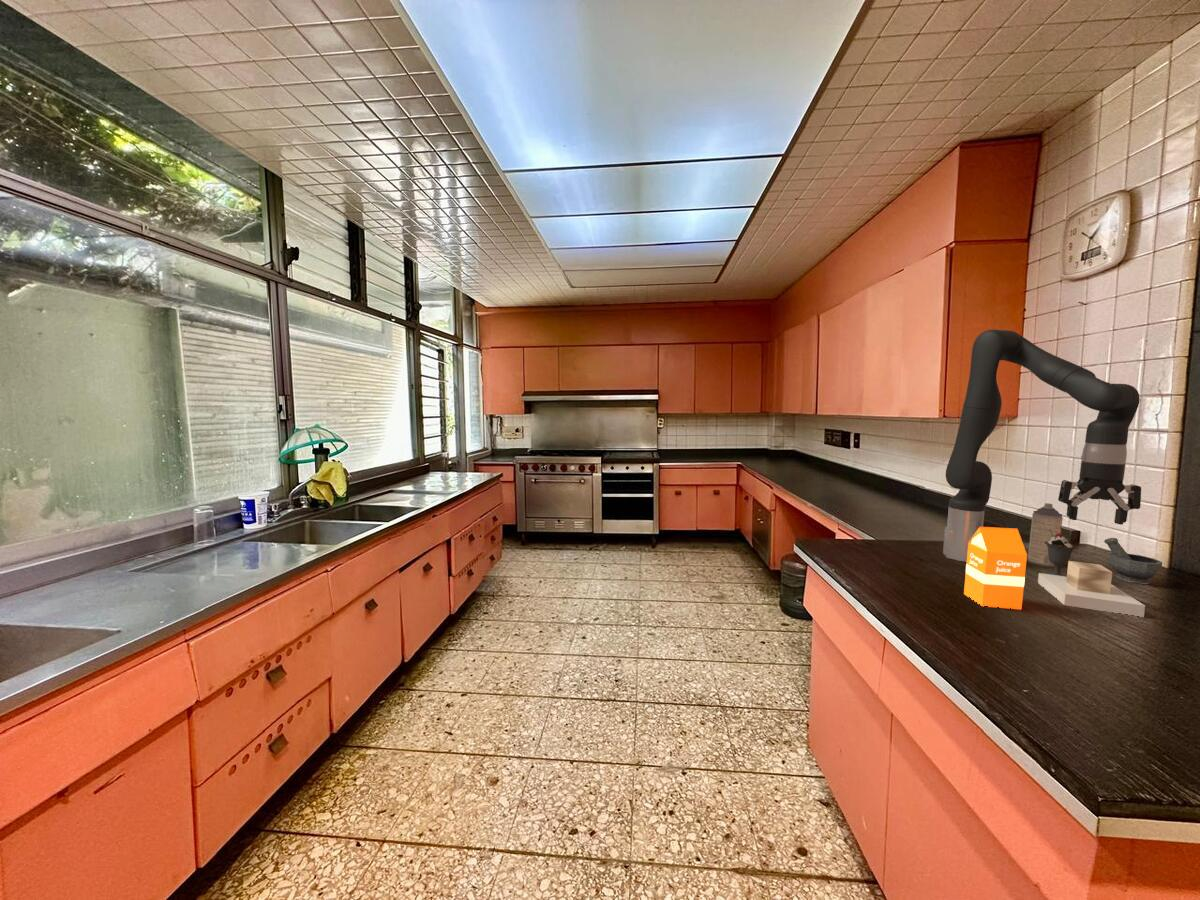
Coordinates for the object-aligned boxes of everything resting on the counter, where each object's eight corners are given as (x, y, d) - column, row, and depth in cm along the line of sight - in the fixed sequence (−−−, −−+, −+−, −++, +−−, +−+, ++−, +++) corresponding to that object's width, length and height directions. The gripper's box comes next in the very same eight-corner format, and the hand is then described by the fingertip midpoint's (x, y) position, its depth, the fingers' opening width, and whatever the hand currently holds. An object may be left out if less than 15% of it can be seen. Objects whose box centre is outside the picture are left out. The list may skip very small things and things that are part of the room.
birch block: (1077, 589, 114) (1079, 567, 113) (1066, 581, 119) (1068, 560, 118) (1109, 594, 111) (1112, 572, 110) (1097, 586, 116) (1099, 564, 115)
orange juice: (1022, 609, 109) (1030, 533, 107) (982, 606, 111) (989, 530, 109) (1000, 596, 117) (1007, 524, 115) (963, 593, 118) (969, 522, 116)
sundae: (1057, 572, 133) (1063, 525, 132) (1079, 581, 126) (1085, 532, 125) (1034, 572, 134) (1039, 525, 132) (1055, 580, 127) (1060, 531, 126)
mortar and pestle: (1154, 580, 127) (1160, 541, 126) (1163, 590, 121) (1169, 548, 119) (1097, 570, 135) (1101, 533, 134) (1102, 579, 128) (1107, 540, 127)
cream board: (1064, 605, 111) (1065, 593, 111) (1037, 582, 125) (1038, 572, 125) (1143, 617, 105) (1145, 605, 105) (1106, 592, 119) (1107, 582, 119)
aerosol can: (1063, 566, 138) (1069, 505, 136) (1047, 568, 137) (1054, 506, 135) (1037, 559, 145) (1043, 501, 143) (1022, 560, 144) (1028, 502, 142)
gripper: (1071, 460, 112) (1064, 521, 113) (1153, 464, 105) (1144, 529, 107) (1058, 457, 118) (1051, 515, 120) (1134, 461, 112) (1125, 521, 113)
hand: (1095, 521), depth 113 cm, fingers open, 8 cm apart
